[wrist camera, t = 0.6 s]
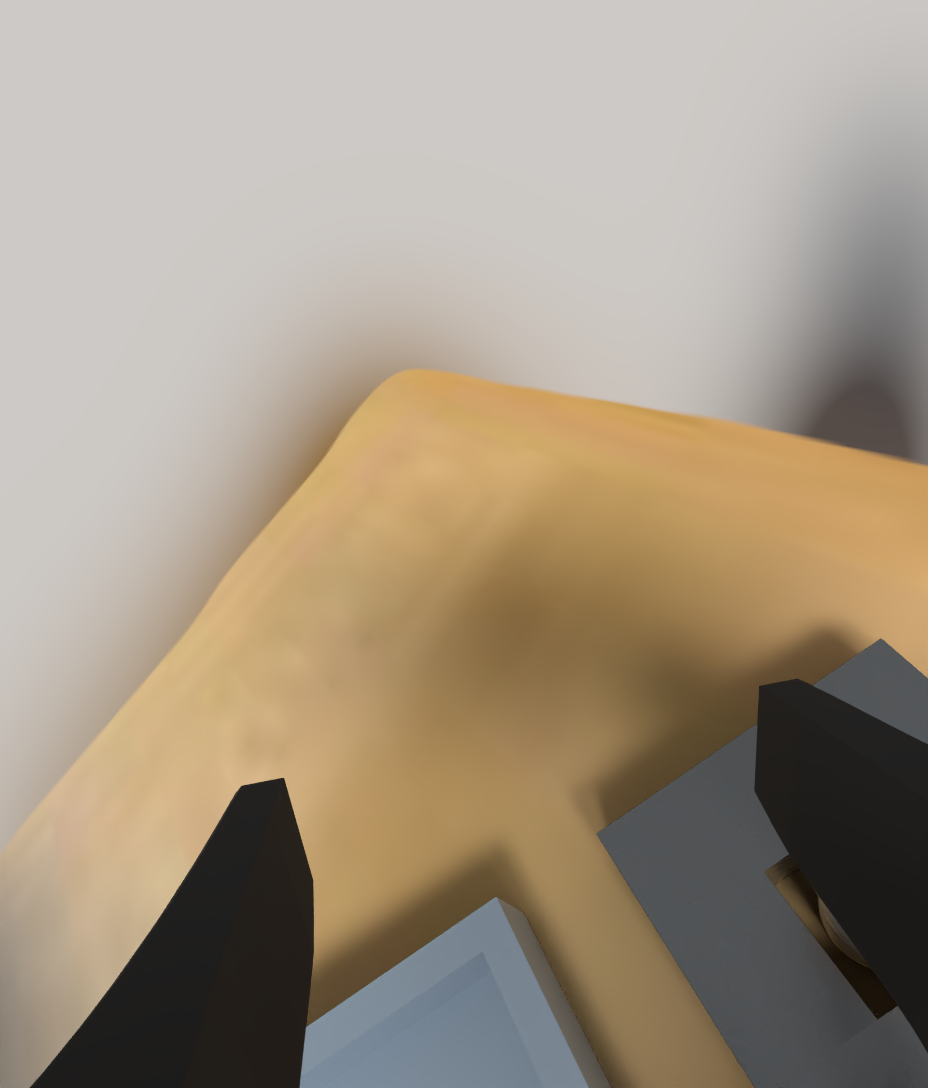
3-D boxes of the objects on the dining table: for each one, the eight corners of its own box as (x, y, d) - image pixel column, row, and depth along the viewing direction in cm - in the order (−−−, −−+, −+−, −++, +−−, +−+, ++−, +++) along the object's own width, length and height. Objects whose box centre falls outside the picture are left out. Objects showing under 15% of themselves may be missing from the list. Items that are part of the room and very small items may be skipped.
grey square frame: (1245, 1000, 19) (1290, 990, 17) (870, 1262, 19) (874, 1281, 17) (877, 669, 27) (881, 638, 25) (612, 851, 27) (596, 833, 25)
